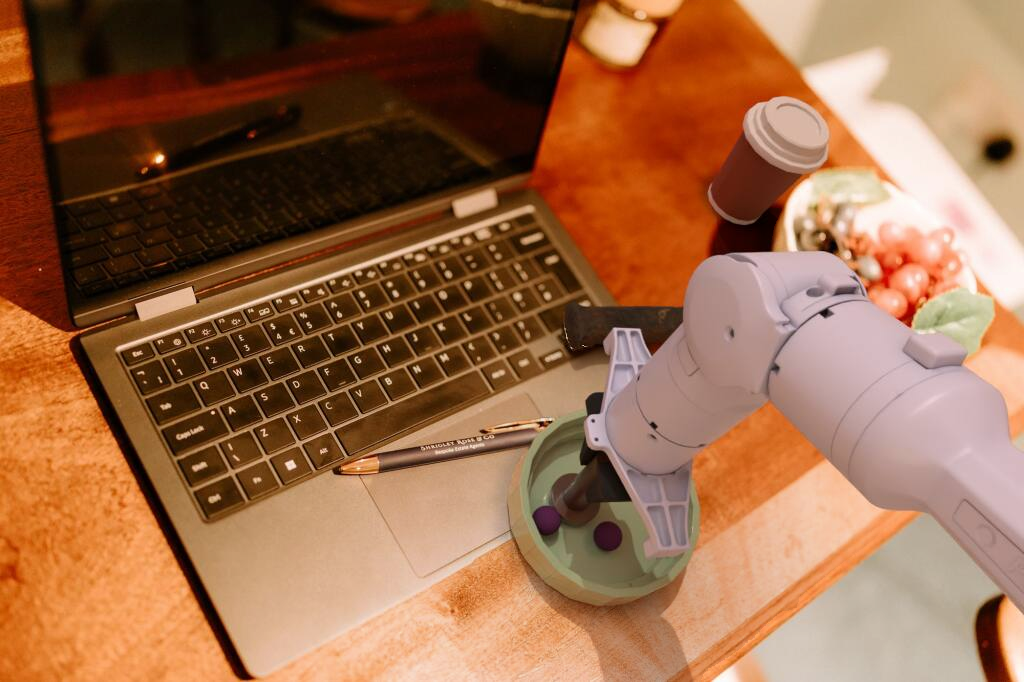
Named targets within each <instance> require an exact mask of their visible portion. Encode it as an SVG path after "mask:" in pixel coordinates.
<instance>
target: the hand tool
mask: <svg viewBox="0 0 1024 682" xmlns="http://www.w3.org/2000/svg"><path fill="white" fill-rule="evenodd" d="M564 311H565V328H566V333H567V337H568V341H569V342H570V346H571V347H572V348H575V347H576V348H578V347H579V346H580V347H582V348H584V349H589V348H592V347H593V346H596V345H595V344H601V345H604V344H603V341H604V340H605V339H606V337H607V336H608V335H609V333H610V332H611V331H612V329H613V328H634V329H640V330H641V333H642V336H643V340H644V342H645V344H661V343H662V344H663V343H665V341H666V340H667V339H668V338H669V337H670V336H671V335H672V334H673V333H674V331H675V330H676V329H677V328H678V327H679V326H680V325H681V324H682V323H683V306H673V305H672V306H669V305H668V306H667V305H659V306H658V305H657V306H656V305H633V306H630V305H611V306H610V305H609V306H607V305H606V306H599V305H597V306H594V305H593V306H592V305H589V306H588V305H587V306H586V305H582V304H579V303H578V302H577V301H574V300H573V301H571V302H569V303H568V304H567V306H566V308H565V310H564ZM562 318H563V317H562ZM561 328H562V335H563V339H564V343H565V345H566V346H567V348H568V349H569V350H570V351H573V350H574V349H571V348H570V346H569V343H568V341H567V339H566V334H565V330H564V324H563V319H561ZM582 345H584V346H588V347H584V346H582ZM576 348H575V349H576Z"/></svg>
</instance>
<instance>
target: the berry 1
mask: <svg viewBox="0 0 1024 682" xmlns="http://www.w3.org/2000/svg"><path fill="white" fill-rule="evenodd" d="M532 518H533V520H534V522H535V525H536V527H537V529H538V531H539V534H540V535H544V536H549V535H552V534H554V533H556V532H557V531H558V529H559V527H560V525H561V517H560V514H559V512H558V511H557V510H556V509H555V508H554V507H552V506H548V505H544V506H541V507H539V508H537V509H536V510H535V511H534V513H533V515H532Z"/></svg>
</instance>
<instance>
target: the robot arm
mask: <svg viewBox="0 0 1024 682" xmlns="http://www.w3.org/2000/svg"><path fill="white" fill-rule="evenodd" d="M682 307H683V323H682V324H681V325H680V326H679V327H678V328H677V329H676V330H675V331H674V333H673V334H672V335H671V336H670V337H669V338H668V339H667V340H666V341H665V342H663V343H662V344H661V346H659V348H658V349H657V350H656V351H655V352H654V353H653V354H652V355H651V352H650V351H649V349H648V347H647V344H646V343H645V342H644V340H643V336H642V333H641V330H640V329H634V328H613V329H612V331H611V332H610V333H609V335H608V336H607V337H606V339H605V340H604V341H603V344H602V345H603V349H604V353H605V354H606V356H610V357H609V361H608V362H609V363H608V368H607V372H606V373H607V374H606V379H605V383H604V389H603V391H596V392H592V393H590V395H588V396H587V398H586V399H585V400H584V402H585V403H584V404H585V409H586V410H587V419H586V420H585V421H584V430H585V438H584V442H583V445H582V448H581V452H580V456H579V458H580V465H581V466H584V465H587V464H588V463H589V462H590V461H591V460H592V459H593V458H594V457H595V456H596V454H597V453H598V452H599V451H601V450H602V451H604V452H606V454H607V455H608V457H609V459H610V461H611V462H598V463H597V464H596V467H597V477H596V479H595V481H594V482H593V483H592V484H591V485H590V486H589V487H588V488H587V489H586V492H585V495H586V501H587V502H588V503H603V502H633V503H634V505H635V507H636V509H637V511H638V512H639V514H640V516H641V518H642V520H643V522H644V524H645V526H646V528H647V530H648V533H649V537H648V538H647V539H645V540H644V541H643V547H644V552H645V557H646V558H663V557H675V556H677V555H679V554H681V553H683V552H685V551H687V550H689V549H690V548H691V547H690V542H689V536H688V509H689V498H690V488H691V477H692V478H693V467H694V466H693V465H694V457H696V456H697V455H698V454H700V453H701V452H703V451H704V450H705V449H707V448H708V447H709V446H711V445H713V444H714V443H715V442H716V441H718V440H719V439H720V438H721V437H723V436H724V435H726V434H727V433H728V432H730V431H731V430H732V429H734V428H735V427H736V426H738V425H739V424H740V423H743V421H745V420H746V419H747V418H749V417H750V416H751V415H752V414H754V413H755V412H757V411H758V410H759V409H761V408H762V407H763V406H765V404H767V403H768V402H769V403H770V404H771V405H773V407H774V408H776V410H778V411H779V413H780V414H781V415H782V416H784V418H785V419H786V420H787V421H789V423H790V424H791V425H792V426H793V427H794V428H795V429H796V430H797V431H798V432H799V433H800V434H801V435H802V436H803V437H804V438H805V439H806V440H807V441H808V442H809V443H810V444H811V445H812V446H813V447H814V448H815V449H816V450H817V451H818V452H819V453H820V454H821V455H822V456H823V458H825V459H826V460H827V461H828V463H830V464H831V465H832V466H833V467H834V468H835V469H836V470H837V471H838V472H839V473H840V474H841V475H842V476H843V477H844V478H845V479H846V480H847V481H848V482H849V483H850V484H851V485H852V486H853V487H854V488H855V490H856V491H857V492H859V494H860V495H862V496H863V498H864V499H865V500H866V501H868V502H869V504H870V505H872V506H874V507H876V508H879V509H881V510H886V511H893V512H918V513H919V512H920V513H924V514H927V515H929V516H931V517H932V518H933V519H934V521H936V522H937V523H938V524H939V525H940V527H941V528H942V529H943V530H944V532H946V533H947V534H948V535H949V536H950V537H951V539H952V540H953V541H954V542H955V543H956V544H957V545H958V546H959V548H961V549H962V550H963V551H964V553H966V554H967V556H968V557H969V558H970V559H971V560H972V561H973V563H974V564H976V566H978V567H979V569H980V570H981V571H982V572H983V573H984V574H985V575H986V576H987V577H988V578H989V580H990V581H991V582H992V583H993V584H994V585H995V586H996V587H997V588H998V589H999V590H1000V591H1001V593H1003V594H1004V595H1005V597H1006V598H1007V599H1008V600H1009V601H1010V602H1011V603H1012V604H1013V605H1014V606H1015V607H1016V608H1017V610H1018V611H1019V612H1020V613H1021V614H1022V615H1023V616H1024V451H1023V450H1022V449H1020V448H1019V447H1017V446H1016V445H1014V444H1013V442H1012V437H1011V431H1010V429H1011V428H1010V421H1009V411H1008V410H1009V409H1008V406H1007V403H1006V399H1005V397H1004V395H1003V393H1002V392H1001V391H1000V390H999V389H998V388H996V387H995V385H993V384H991V383H990V382H988V381H987V380H985V379H984V378H983V377H981V376H979V375H978V373H976V372H974V371H973V370H971V369H970V368H968V366H965V365H964V364H963V363H964V362H965V360H966V359H967V357H968V354H969V351H968V349H967V348H966V347H965V346H963V345H961V344H960V343H959V342H957V341H956V340H954V339H953V338H951V337H950V336H949V335H947V334H945V333H943V332H933V333H932V332H931V333H930V332H929V333H920V334H919V333H918V332H917V331H915V330H913V329H912V328H911V327H909V326H908V325H906V324H905V323H904V322H902V321H901V320H899V319H897V317H895V316H893V315H892V314H890V313H889V311H886V310H885V309H883V308H882V307H880V306H879V305H877V304H876V303H874V302H873V301H872V300H870V298H869V295H868V293H867V289H866V287H865V286H864V284H863V281H862V280H861V278H860V276H859V275H858V274H857V273H856V272H855V271H854V270H853V269H851V268H850V266H849V265H848V263H846V262H845V261H843V260H842V259H841V258H840V257H839V256H836V255H835V254H834V253H830V252H828V251H822V250H806V251H805V250H802V251H799V250H798V251H759V252H758V251H757V252H756V251H755V252H730V253H726V254H718V255H712V256H710V257H708V258H706V259H705V260H703V261H701V263H700V264H699V265H698V266H697V267H696V268H695V270H694V271H693V273H692V275H691V277H690V279H689V281H688V284H687V287H686V289H685V293H684V299H683V306H682Z"/></svg>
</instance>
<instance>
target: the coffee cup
mask: <svg viewBox="0 0 1024 682" xmlns="http://www.w3.org/2000/svg"><path fill="white" fill-rule="evenodd" d="M830 136H831V132H830V130H829V127H828V125H827V121H826V120H825V119H824V117H823V116H822V115H821V113H819V111H818V110H816V109H815V108H814V107H812V106H811V105H809V104H808V103H806V102H804V101H802V100H800V99H798V98H795V97H790V96H786V95H781V96H775V97H772V98H771V99H769V101H762V102H757V103H756V104H754V105H752V107H751V108H749V109H748V110H747V112H745V114H744V118H743V121H742V131H741V134H740V135H739V137H738V138H737V140H736V141H735V144H734V145H733V147H732V149H731V150H730V152H729V154H728V155H727V157H726V159H724V161H723V163H722V165H721V167H720V168H719V170H718V172H717V174H716V175H715V177H714V178H713V180H712V182H711V183H710V185H709V187H708V191H707V197H708V201H709V203H710V205H711V207H712V208H713V210H714V211H715V213H717V214H718V215H719V216H721V217H722V218H723V219H725V220H726V221H729V222H731V223H733V224H736V225H741V226H743V225H744V226H746V225H751V224H754V223H755V222H756V221H757V220H758V219H759V218H760V217H761V216H762V214H764V213H765V212H766V211H767V210H768V209H769V208H770V207H771V206H772V205H774V203H775V202H776V201H778V200H779V199H780V198H781V196H783V195H784V194H785V193H786V192H787V191H788V190H789V189H790V188H792V186H794V184H795V183H797V182H798V180H800V178H801V177H802V176H804V175H806V174H810V173H816V172H817V171H818V170H819V169H820V168H821V167H822V166H823V165H824V164H825V163H826V162H827V161H828V156H829V150H830V147H829V144H828V143H829V142H830Z"/></svg>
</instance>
